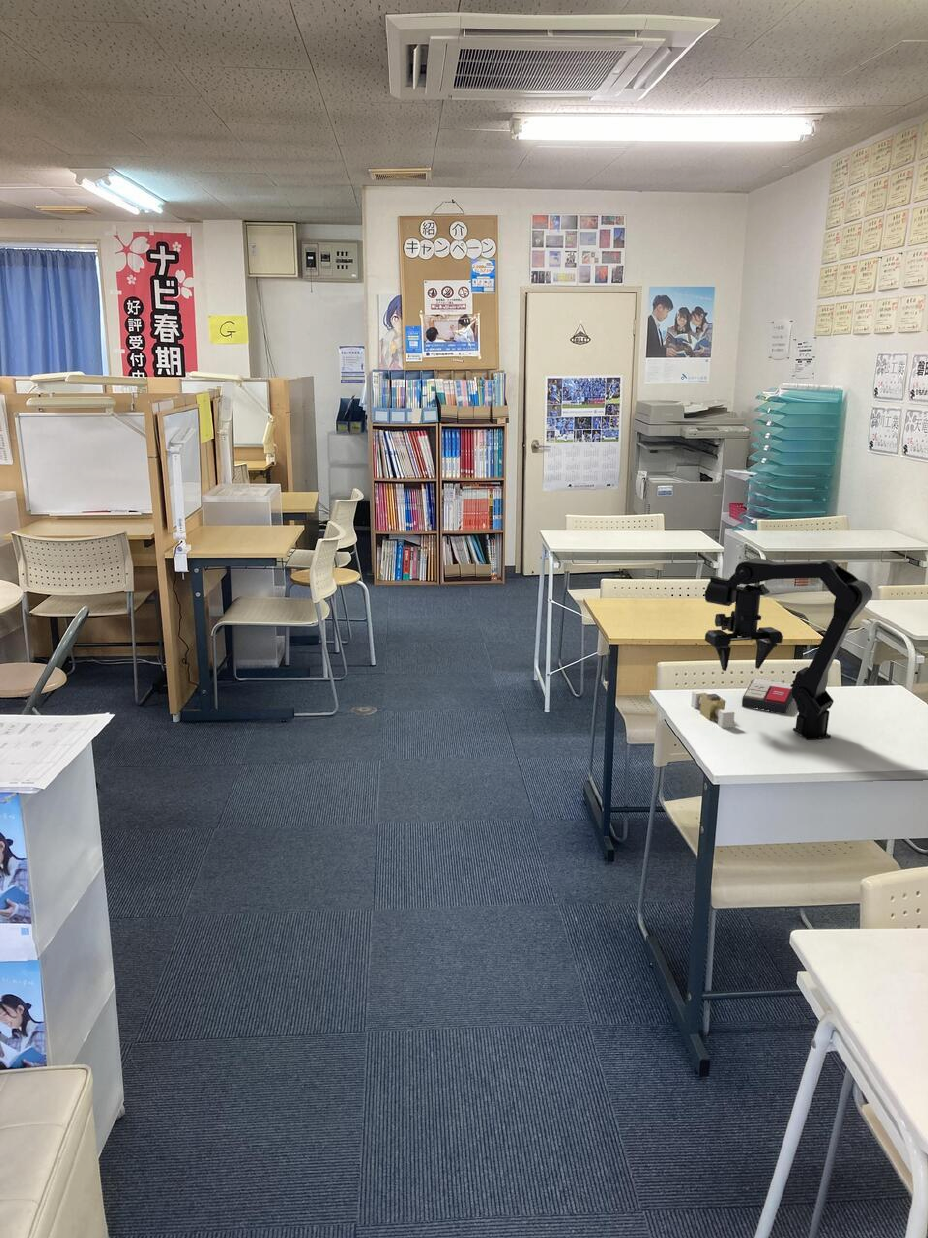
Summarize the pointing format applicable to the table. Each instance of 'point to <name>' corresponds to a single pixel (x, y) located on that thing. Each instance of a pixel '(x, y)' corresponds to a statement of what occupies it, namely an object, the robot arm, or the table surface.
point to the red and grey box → (768, 696)
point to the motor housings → (724, 715)
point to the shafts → (715, 711)
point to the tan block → (711, 705)
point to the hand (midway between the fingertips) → (740, 669)
